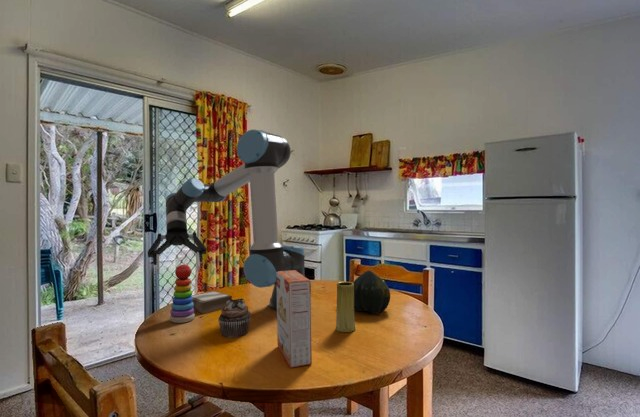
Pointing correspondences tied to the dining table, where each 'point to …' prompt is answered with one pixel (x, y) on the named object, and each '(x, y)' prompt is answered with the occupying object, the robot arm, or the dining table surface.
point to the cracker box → (294, 317)
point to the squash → (370, 293)
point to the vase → (345, 307)
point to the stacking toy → (182, 297)
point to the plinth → (210, 301)
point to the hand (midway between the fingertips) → (178, 270)
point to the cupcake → (234, 319)
